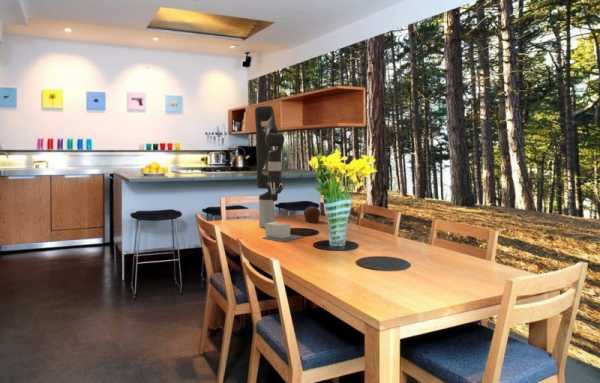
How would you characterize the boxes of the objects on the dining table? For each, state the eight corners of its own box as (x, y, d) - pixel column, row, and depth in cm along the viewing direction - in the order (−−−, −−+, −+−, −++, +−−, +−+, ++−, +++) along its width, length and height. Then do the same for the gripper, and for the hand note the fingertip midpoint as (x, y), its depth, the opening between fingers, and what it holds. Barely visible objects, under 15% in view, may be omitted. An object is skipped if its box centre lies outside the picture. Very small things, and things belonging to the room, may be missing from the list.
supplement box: (274, 234, 276) (290, 237, 268) (264, 236, 271) (281, 239, 262) (274, 221, 275) (290, 224, 267) (265, 222, 270) (281, 225, 261)
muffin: (302, 220, 332) (302, 205, 331) (318, 220, 333) (319, 205, 332) (304, 223, 320) (305, 208, 319) (321, 222, 321) (321, 207, 320)
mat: (283, 234, 280) (283, 233, 280) (303, 237, 270) (303, 236, 270) (262, 238, 267) (262, 237, 267) (283, 242, 257) (282, 241, 257)
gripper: (288, 170, 266) (288, 201, 268) (270, 168, 274) (270, 199, 276) (279, 170, 260) (279, 202, 262) (261, 169, 269) (261, 200, 271)
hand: (274, 200), depth 269 cm, fingers closed
